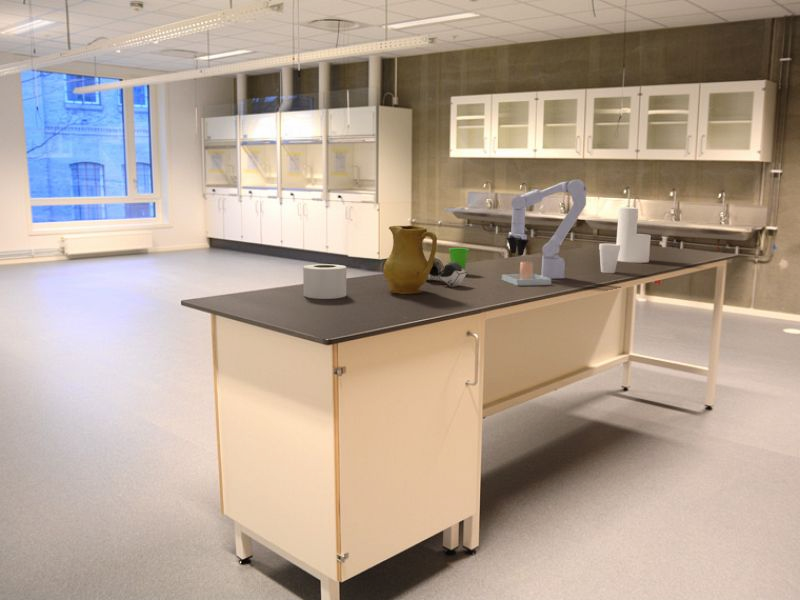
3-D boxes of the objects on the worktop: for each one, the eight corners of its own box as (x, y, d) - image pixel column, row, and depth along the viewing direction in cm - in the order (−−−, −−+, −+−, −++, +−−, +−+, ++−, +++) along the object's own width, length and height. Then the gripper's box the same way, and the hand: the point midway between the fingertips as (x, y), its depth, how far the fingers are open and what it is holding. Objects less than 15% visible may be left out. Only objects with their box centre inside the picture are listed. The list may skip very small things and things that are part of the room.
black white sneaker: (414, 280, 307) (414, 256, 306) (433, 279, 313) (433, 255, 311) (451, 289, 287) (452, 263, 285) (471, 287, 292) (472, 262, 291)
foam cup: (620, 272, 347) (622, 244, 344) (615, 274, 339) (617, 245, 337) (601, 270, 352) (602, 243, 349) (594, 272, 344) (596, 244, 342)
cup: (468, 272, 334) (469, 248, 332) (468, 275, 325) (468, 250, 323) (448, 271, 335) (449, 247, 333) (447, 274, 326) (448, 249, 324)
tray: (534, 279, 316) (534, 274, 316) (551, 284, 302) (551, 279, 301) (501, 280, 312) (502, 274, 312) (516, 285, 298) (517, 279, 297)
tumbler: (528, 280, 310) (529, 261, 309) (534, 282, 305) (535, 263, 304) (517, 280, 309) (518, 261, 307) (522, 282, 304) (523, 263, 302)
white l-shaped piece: (617, 261, 387) (621, 208, 382) (613, 258, 404) (616, 206, 399) (651, 263, 384) (655, 209, 379) (646, 259, 401) (650, 207, 396)
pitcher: (405, 285, 290) (407, 222, 285) (440, 293, 278) (443, 227, 272) (373, 290, 279) (375, 225, 273) (408, 300, 266) (410, 231, 260)
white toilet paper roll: (299, 293, 270) (298, 263, 268) (339, 291, 276) (339, 262, 274) (309, 300, 256) (309, 269, 254) (351, 298, 261) (351, 268, 260)
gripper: (503, 222, 330) (501, 252, 332) (516, 224, 316) (515, 256, 319) (517, 222, 332) (516, 252, 334) (531, 224, 318) (530, 256, 320)
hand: (516, 254), depth 327 cm, fingers open, 7 cm apart
